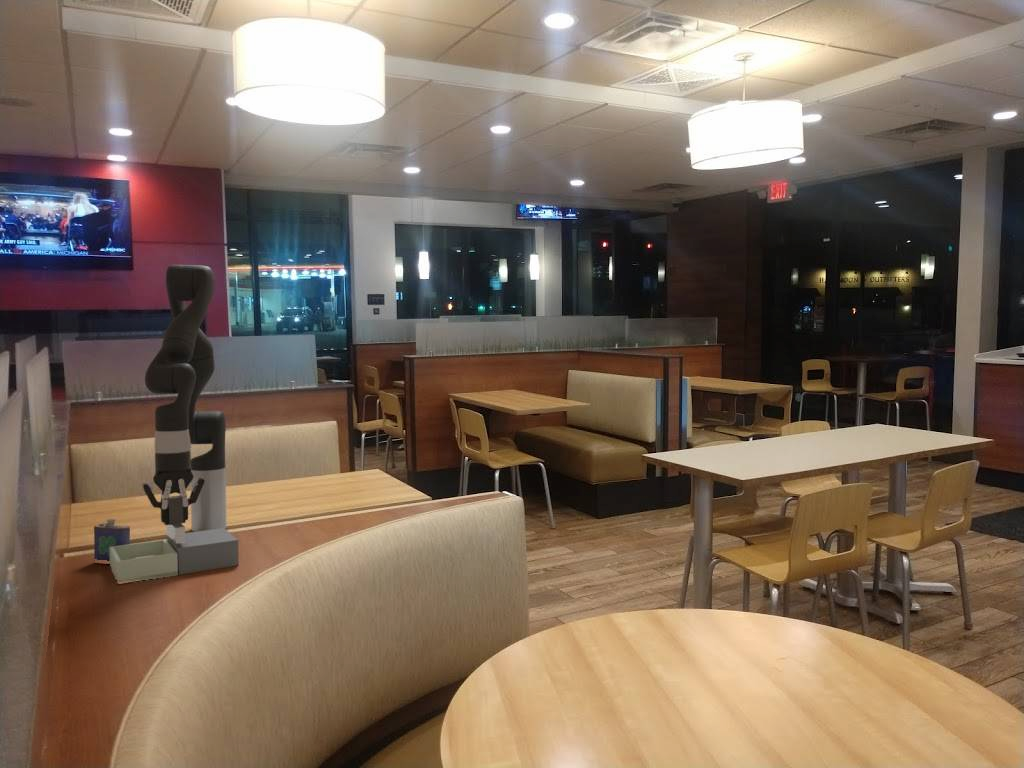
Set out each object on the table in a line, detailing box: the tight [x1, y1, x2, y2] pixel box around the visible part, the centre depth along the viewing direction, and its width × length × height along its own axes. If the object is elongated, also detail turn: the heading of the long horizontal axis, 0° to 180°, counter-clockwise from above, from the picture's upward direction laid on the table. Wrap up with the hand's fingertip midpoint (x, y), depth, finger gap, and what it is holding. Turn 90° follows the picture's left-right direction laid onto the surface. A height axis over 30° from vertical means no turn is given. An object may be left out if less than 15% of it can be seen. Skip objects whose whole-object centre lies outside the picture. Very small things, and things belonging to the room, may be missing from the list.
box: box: [109, 539, 179, 583], centre depth 170 cm, size 15×12×5 cm
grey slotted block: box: [166, 528, 240, 576], centre depth 177 cm, size 14×13×6 cm
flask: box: [93, 518, 131, 561], centre depth 177 cm, size 9×3×11 cm, turn 78°
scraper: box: [165, 495, 186, 544], centre depth 173 cm, size 12×3×10 cm, turn 34°
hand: (174, 523), depth 174 cm, fingers closed on scraper, 3 cm apart
